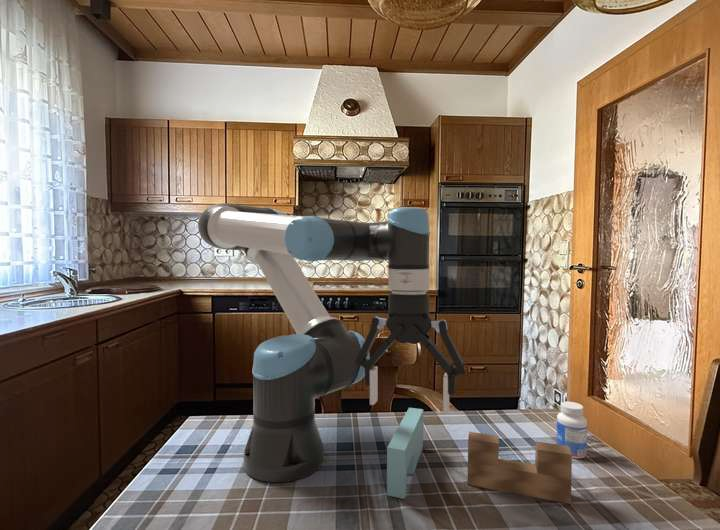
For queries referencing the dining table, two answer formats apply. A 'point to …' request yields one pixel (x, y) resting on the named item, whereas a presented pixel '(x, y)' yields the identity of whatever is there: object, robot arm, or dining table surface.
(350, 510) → the dining table surface
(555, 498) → the brown u-shaped block
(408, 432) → the teal bridge block
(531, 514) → the dining table surface
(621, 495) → the dining table surface
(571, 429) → the pill bottle
